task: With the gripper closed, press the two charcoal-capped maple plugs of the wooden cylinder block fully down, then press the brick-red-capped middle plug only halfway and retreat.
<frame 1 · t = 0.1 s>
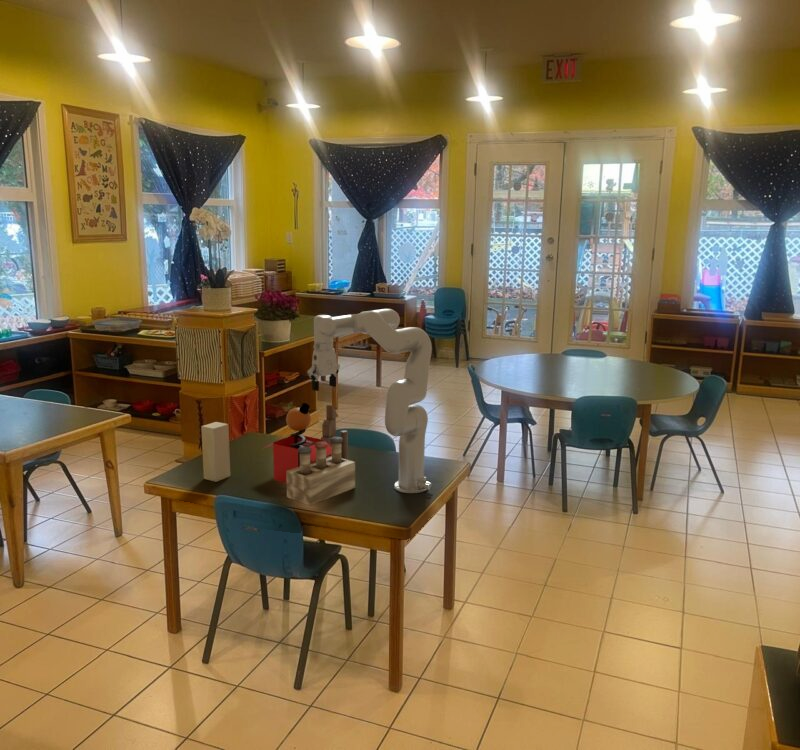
hand: (324, 388, 295), 31 cm above the table, fingers open, 9 cm apart
jack-in-the-box: (299, 477, 284), on the table
plug mid: (321, 455, 266), point 14 cm above the table, slide at 0.0 cm
plug 2: (336, 450, 272), point 14 cm above the table, slide at 0.0 cm
toy refrigerator: (216, 477, 283), on the table
wooden cylinder block: (321, 492, 269), on the table
wooden toy: (334, 465, 299), on the table
plug 1: (305, 461, 260), point 14 cm above the table, slide at 0.0 cm
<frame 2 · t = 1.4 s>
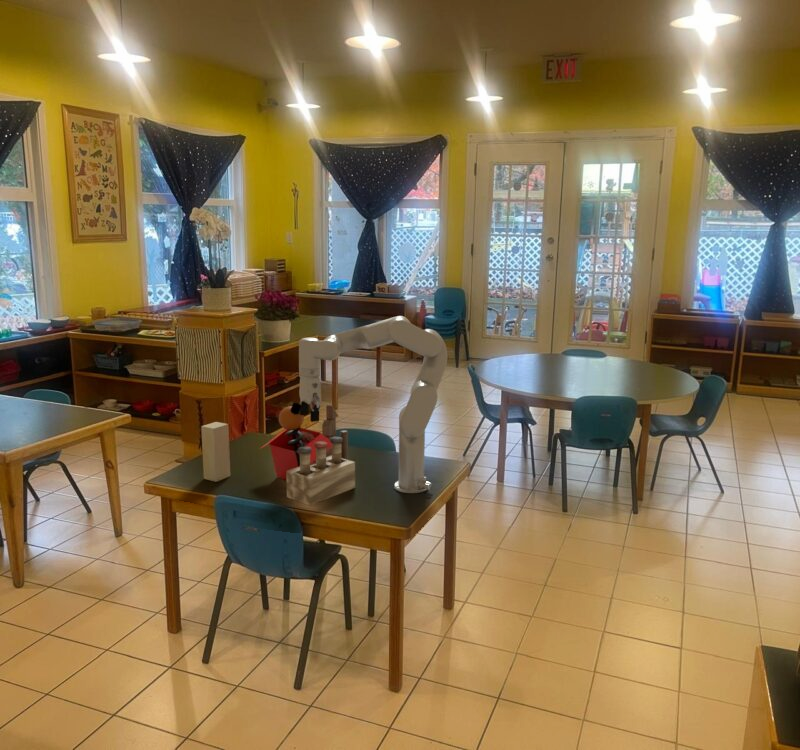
hand: (309, 417, 269), 27 cm above the table, fingers open, 9 cm apart
jack-in-the-box: (301, 470, 285), point 2 cm above the table, touching wooden cylinder block
everything else where it was.
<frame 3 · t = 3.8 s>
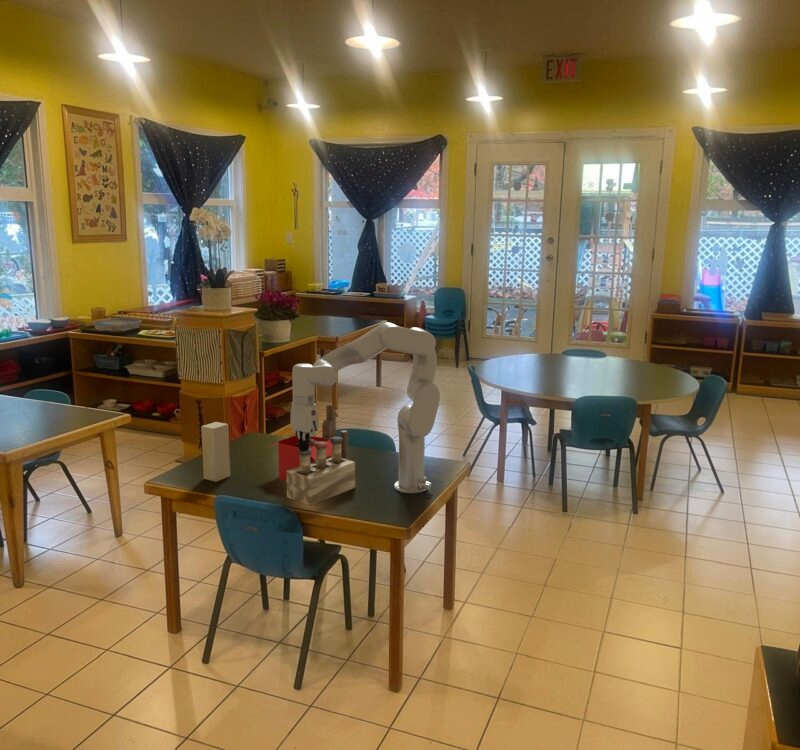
hand: (304, 449, 259), 18 cm above the table, fingers closed
jack-in-the-box: (304, 476, 285), on the table
plug 1: (305, 462, 260), point 14 cm above the table, slide at 0.5 cm, touching gripper
everything else where it was.
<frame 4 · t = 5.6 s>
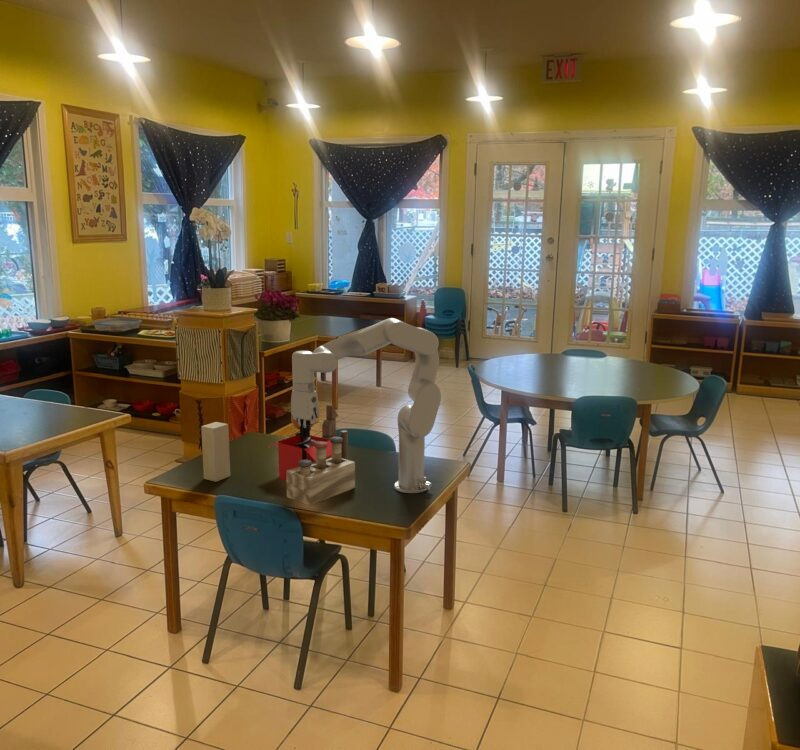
hand: (305, 437, 258), 23 cm above the table, fingers closed
plug 1: (305, 474, 261), point 9 cm above the table, slide at 4.9 cm
everything else where it was.
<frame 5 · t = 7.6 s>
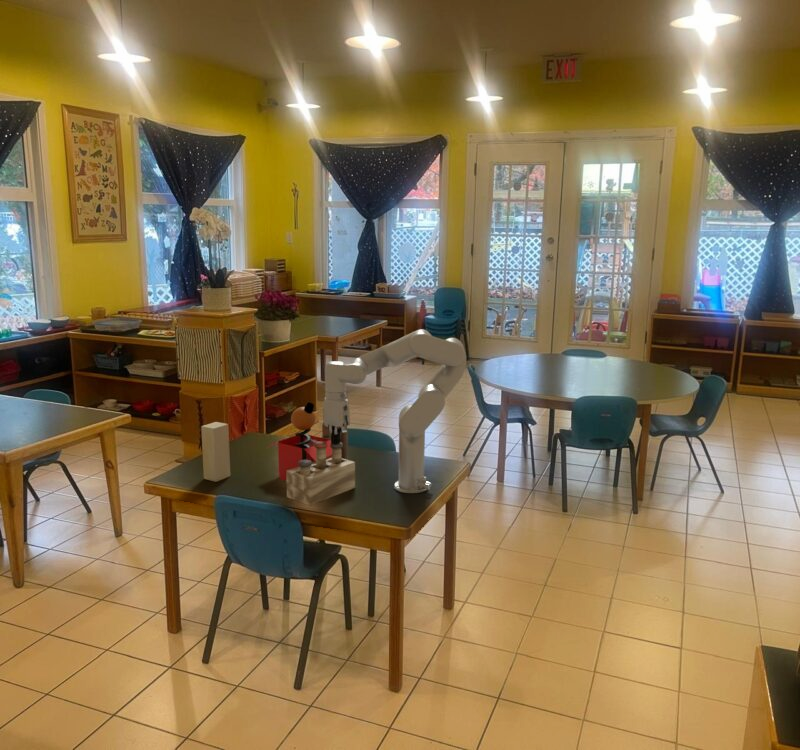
hand: (335, 443, 271), 17 cm above the table, fingers closed
plug 2: (336, 455, 272), point 12 cm above the table, slide at 2.0 cm, touching gripper
everything else where it was.
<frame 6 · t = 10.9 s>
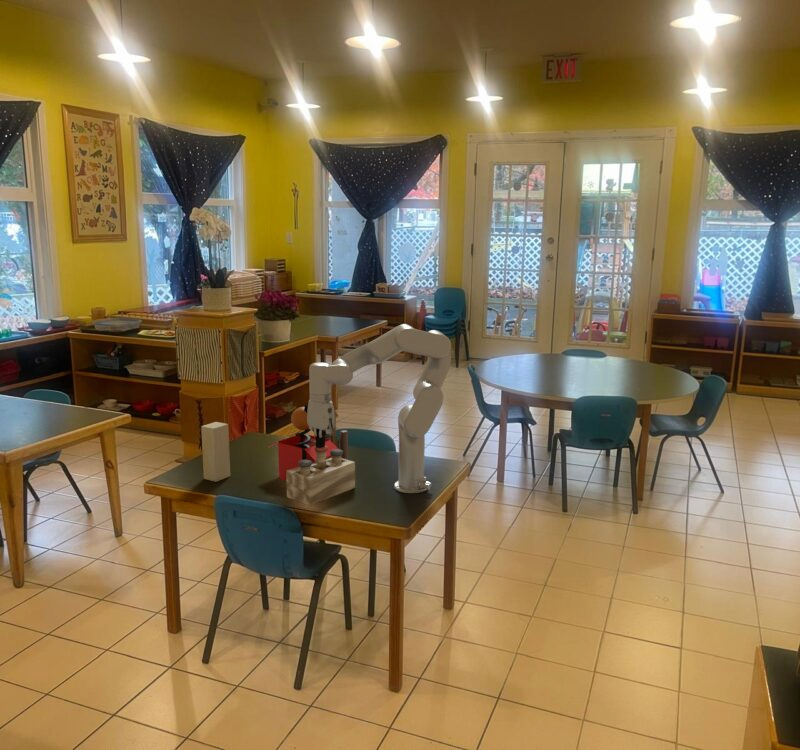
hand: (320, 446, 265), 17 cm above the table, fingers closed
plug mid: (321, 458, 266), point 13 cm above the table, slide at 1.3 cm, touching gripper
plug 2: (336, 463, 273), point 9 cm above the table, slide at 4.9 cm
everything else where it was.
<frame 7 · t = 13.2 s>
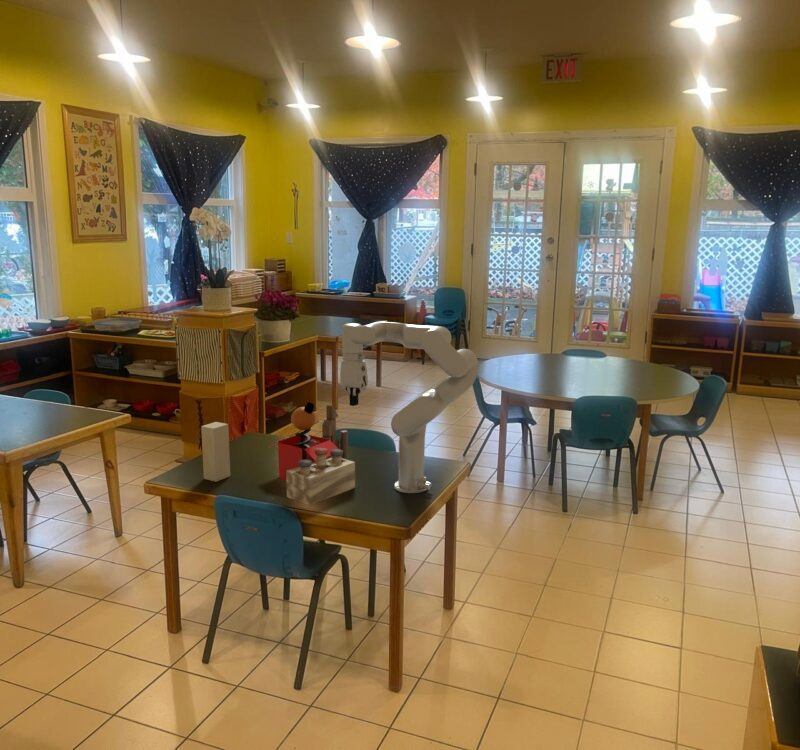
hand: (354, 404, 276), 30 cm above the table, fingers closed
plug mid: (321, 461, 266), point 12 cm above the table, slide at 2.4 cm
everything else where it was.
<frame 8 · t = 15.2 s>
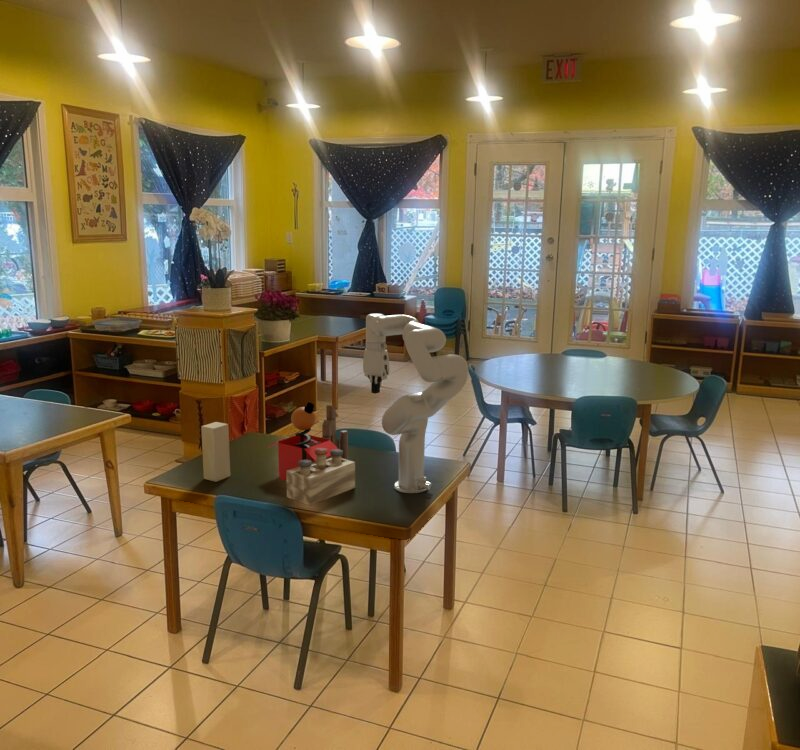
hand: (375, 392, 285), 32 cm above the table, fingers closed
nothing on the table moved.
at the end: plug 1 slide at 4.9 cm; plug 2 slide at 4.9 cm; plug mid slide at 2.4 cm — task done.
